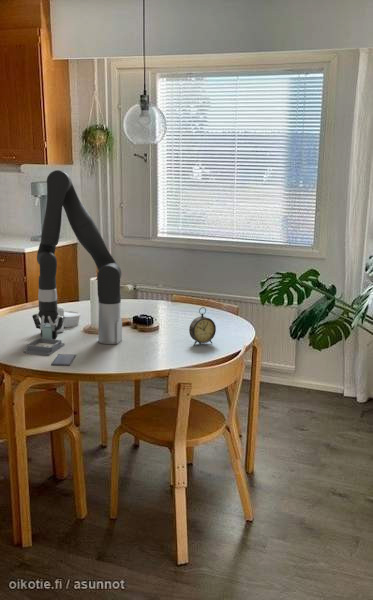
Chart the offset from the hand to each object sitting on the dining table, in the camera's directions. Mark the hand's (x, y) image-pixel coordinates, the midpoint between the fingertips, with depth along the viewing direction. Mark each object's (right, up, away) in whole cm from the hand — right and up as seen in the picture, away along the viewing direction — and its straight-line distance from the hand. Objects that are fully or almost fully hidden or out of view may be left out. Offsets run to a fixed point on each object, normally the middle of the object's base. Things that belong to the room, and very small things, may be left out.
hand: (49, 338), depth 246 cm
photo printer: (-1, +2, +13) cm, 13 cm away
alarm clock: (+64, -3, +3) cm, 64 cm away
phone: (+11, -7, -22) cm, 25 cm away
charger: (0, -1, 0) cm, 1 cm away
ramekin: (+3, +5, +26) cm, 26 cm away
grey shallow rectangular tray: (0, -4, -10) cm, 10 cm away
